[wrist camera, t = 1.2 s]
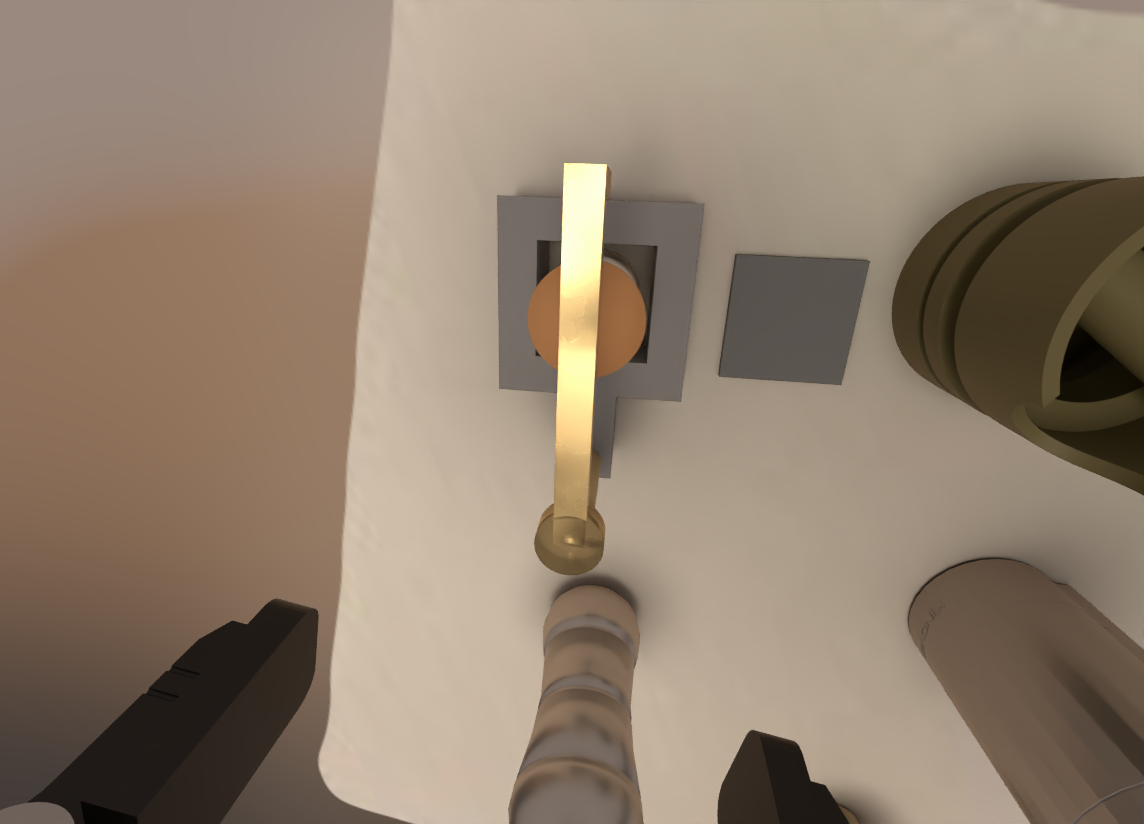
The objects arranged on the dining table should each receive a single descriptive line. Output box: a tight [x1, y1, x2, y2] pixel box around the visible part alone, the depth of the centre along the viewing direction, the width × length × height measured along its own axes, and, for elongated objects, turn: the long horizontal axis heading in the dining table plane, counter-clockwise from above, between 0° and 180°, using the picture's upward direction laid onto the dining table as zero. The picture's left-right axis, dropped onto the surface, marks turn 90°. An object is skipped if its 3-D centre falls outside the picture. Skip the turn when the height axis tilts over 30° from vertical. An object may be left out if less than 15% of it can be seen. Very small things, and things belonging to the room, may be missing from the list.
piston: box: [892, 177, 1144, 495], centre depth 24 cm, size 11×12×11 cm
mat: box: [718, 254, 870, 385], centre depth 31 cm, size 7×7×1 cm
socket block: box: [497, 195, 704, 508], centre depth 27 cm, size 10×15×11 cm, turn 178°
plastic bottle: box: [508, 585, 644, 824], centre depth 30 cm, size 6×7×20 cm
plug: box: [527, 250, 646, 378], centre depth 27 cm, size 5×5×9 cm
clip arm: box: [534, 163, 611, 575], centre depth 23 cm, size 3×16×4 cm, turn 178°
